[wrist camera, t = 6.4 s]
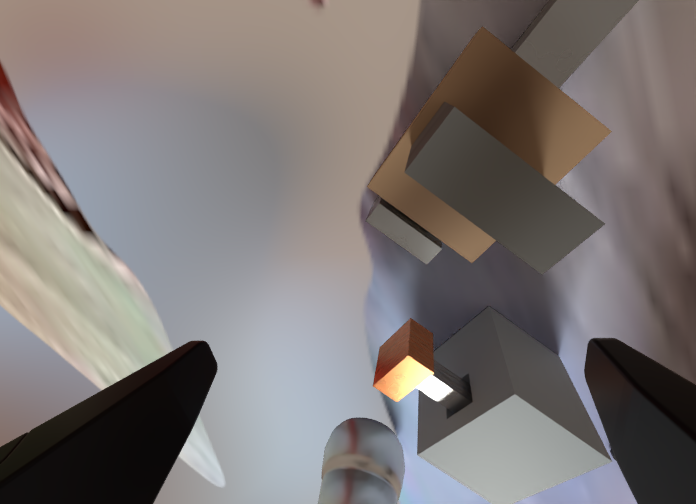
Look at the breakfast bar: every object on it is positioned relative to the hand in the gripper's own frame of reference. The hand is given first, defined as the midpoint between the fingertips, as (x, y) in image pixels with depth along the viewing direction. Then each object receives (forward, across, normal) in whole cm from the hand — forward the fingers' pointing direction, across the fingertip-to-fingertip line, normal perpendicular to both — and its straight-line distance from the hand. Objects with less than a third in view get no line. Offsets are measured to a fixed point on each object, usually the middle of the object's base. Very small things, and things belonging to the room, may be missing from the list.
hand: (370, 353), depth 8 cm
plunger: (+10, -1, +10) cm, 14 cm away
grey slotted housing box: (+13, -4, +12) cm, 19 cm away
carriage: (+13, -4, -2) cm, 14 cm away
